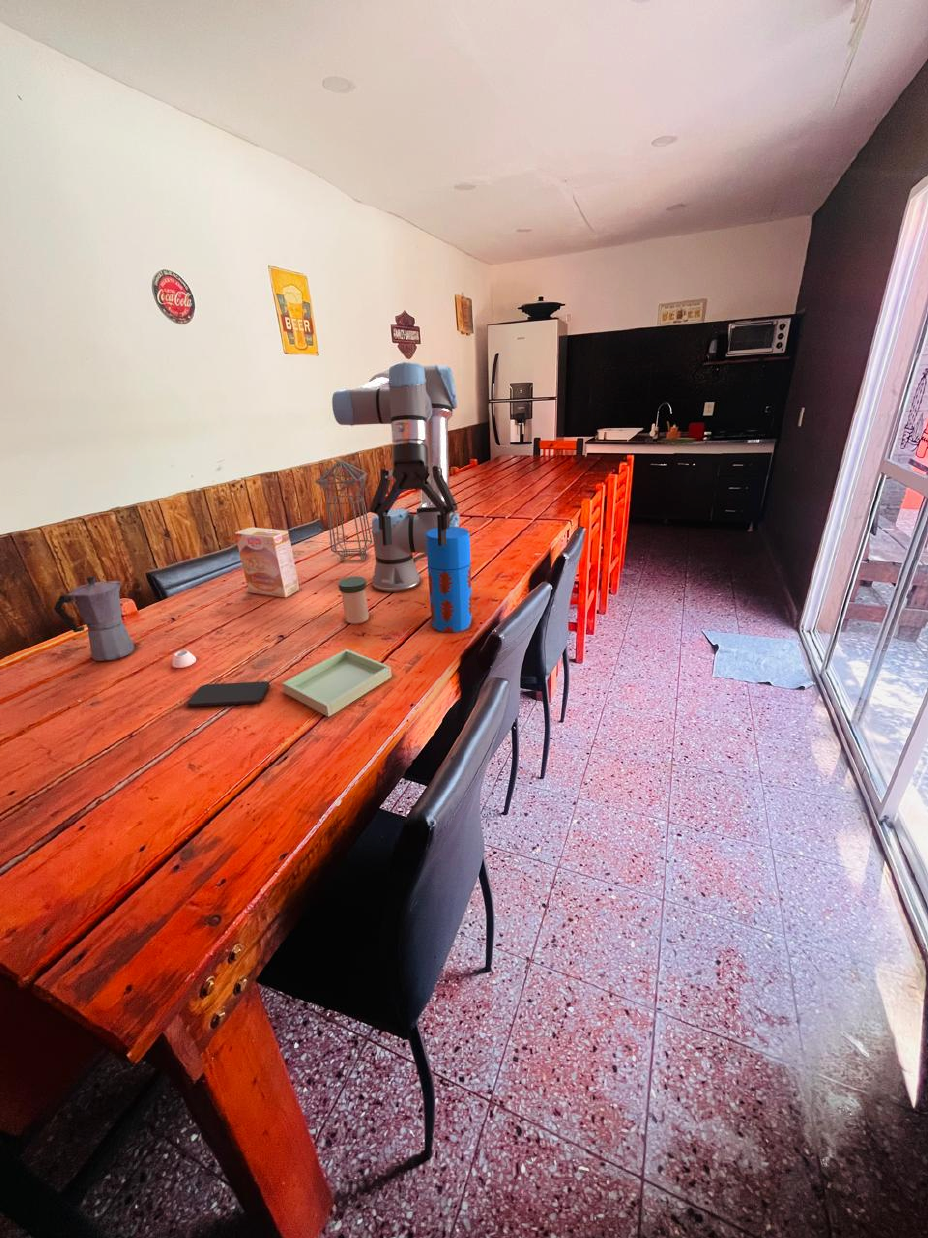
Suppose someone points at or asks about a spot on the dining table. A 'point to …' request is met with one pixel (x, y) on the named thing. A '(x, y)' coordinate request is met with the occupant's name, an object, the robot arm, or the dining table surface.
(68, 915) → the dining table surface
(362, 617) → the jar
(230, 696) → the phone
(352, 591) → the jar lid
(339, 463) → the geometric lantern
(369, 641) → the dining table surface
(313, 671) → the tray
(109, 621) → the moka pot
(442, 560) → the thermos
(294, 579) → the coffeecake box
